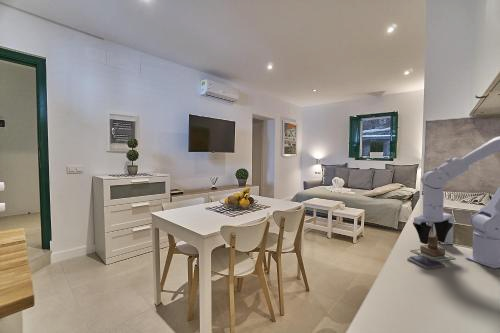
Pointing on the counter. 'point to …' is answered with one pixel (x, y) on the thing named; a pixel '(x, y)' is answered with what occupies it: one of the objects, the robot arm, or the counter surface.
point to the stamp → (432, 247)
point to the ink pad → (425, 262)
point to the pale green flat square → (446, 257)
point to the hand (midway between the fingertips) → (432, 242)
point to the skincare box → (450, 234)
